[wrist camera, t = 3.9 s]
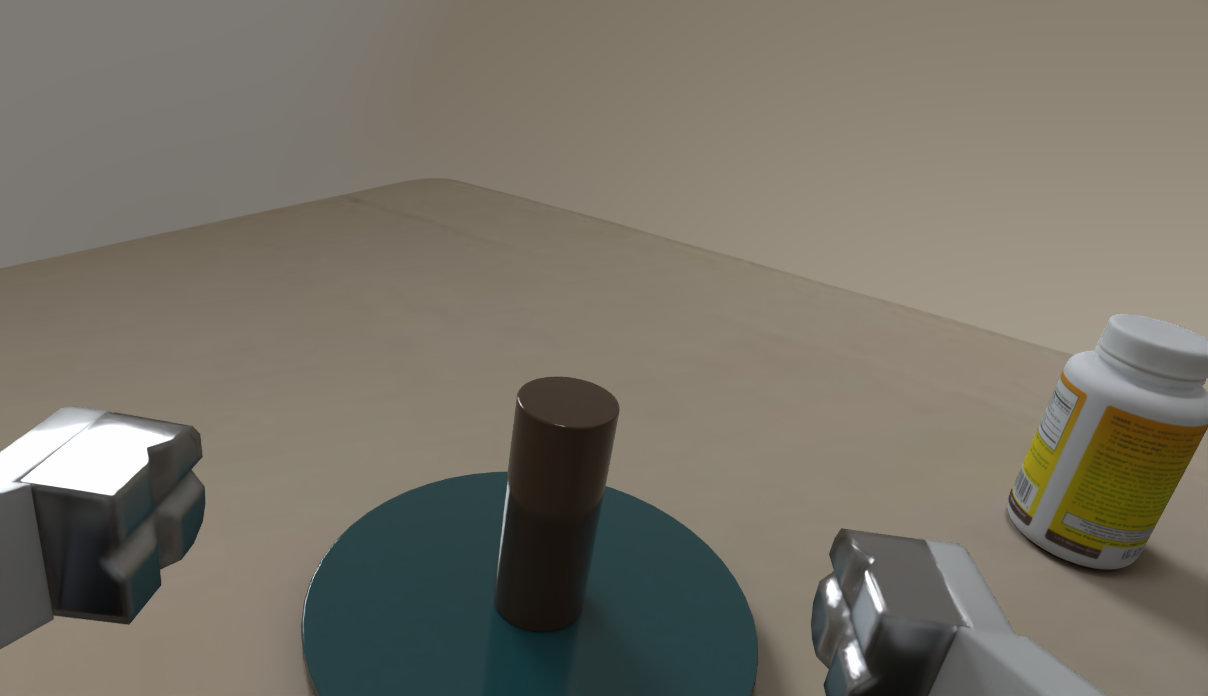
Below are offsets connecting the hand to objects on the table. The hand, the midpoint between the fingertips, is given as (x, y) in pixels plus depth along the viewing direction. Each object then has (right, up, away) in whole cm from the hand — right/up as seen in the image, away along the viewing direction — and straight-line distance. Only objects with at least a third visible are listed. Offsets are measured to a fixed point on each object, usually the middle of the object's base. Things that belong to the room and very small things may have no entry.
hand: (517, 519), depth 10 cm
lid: (-1, -6, +16) cm, 18 cm away
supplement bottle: (+22, -7, +27) cm, 35 cm away
